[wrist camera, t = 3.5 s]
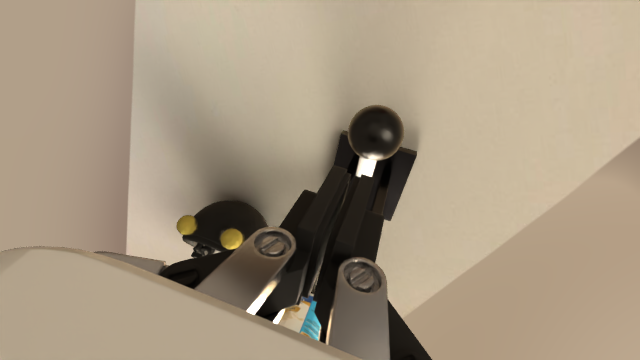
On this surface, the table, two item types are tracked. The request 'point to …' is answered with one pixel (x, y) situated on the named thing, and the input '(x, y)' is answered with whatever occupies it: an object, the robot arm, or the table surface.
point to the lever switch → (379, 175)
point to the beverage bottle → (302, 318)
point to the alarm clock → (220, 227)
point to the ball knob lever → (374, 136)
